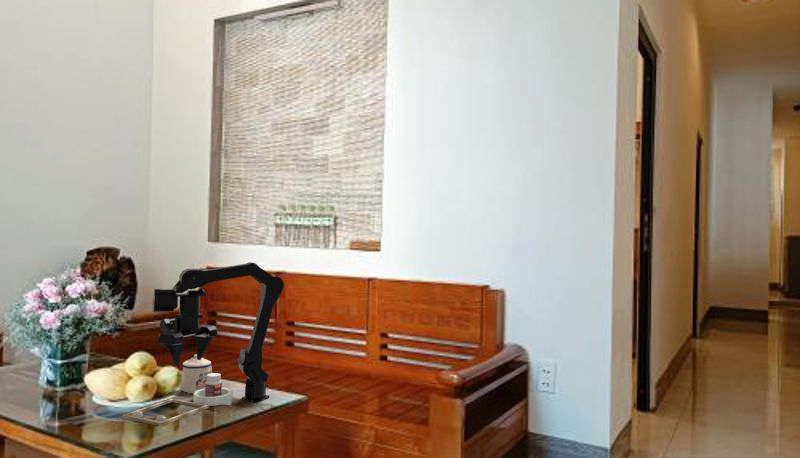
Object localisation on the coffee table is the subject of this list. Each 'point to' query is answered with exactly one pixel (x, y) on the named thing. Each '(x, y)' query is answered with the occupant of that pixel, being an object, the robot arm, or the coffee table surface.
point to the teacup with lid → (195, 374)
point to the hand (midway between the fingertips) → (188, 362)
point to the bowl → (213, 398)
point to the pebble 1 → (137, 414)
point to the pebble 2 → (160, 418)
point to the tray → (201, 407)
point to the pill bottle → (213, 385)
